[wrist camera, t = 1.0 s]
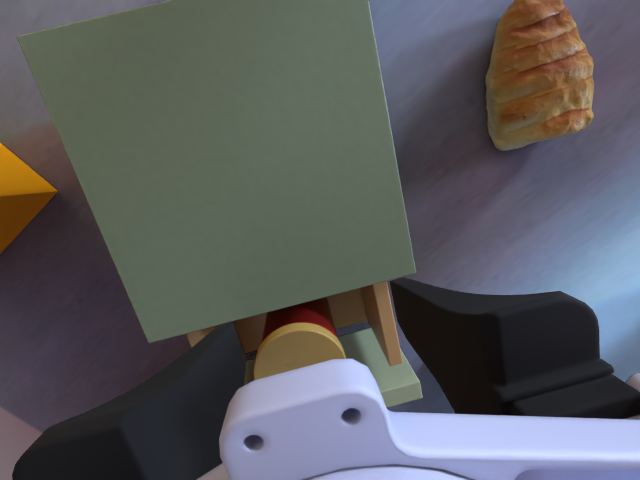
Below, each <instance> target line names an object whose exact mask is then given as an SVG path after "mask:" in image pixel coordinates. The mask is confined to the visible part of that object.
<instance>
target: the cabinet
mask: <svg viewBox="0 0 640 480" xmlns="http://www.w3.org/2000/svg"><path fill="white" fill-rule="evenodd" d="M17 39H18V41H19V43H20V46H21V48H22V50H23V53H24V55H25V57H26V60H27V62H28V64H29V67H30V69H31V71H32V74H33V76H34V78H35V81H36V83H37V85H38V88H39V90H40V92H41V95H42V97H43V99H44V102H45V104H46V106H47V109H48V111H49V113H50V115H51V118H52V120H53V122H54V125H55V127H56V129H57V132H58V134H59V136H60V139H61V141H62V143H63V146H64V148H65V150H66V153H67V155H68V157H69V160H70V162H71V164H72V167H73V169H74V171H75V174H76V176H77V178H78V181H79V183H80V185H81V188H82V190H83V192H84V195H85V197H86V199H87V202H88V204H89V206H90V209H91V211H92V213H93V216H94V218H95V220H96V223H97V225H98V227H99V229H100V232H101V234H102V236H103V239H104V241H105V243H106V246H107V248H108V250H109V253H110V255H111V257H112V260H113V262H114V264H115V267H116V269H117V271H118V274H119V276H120V278H121V281H122V283H123V285H124V288H125V290H126V292H127V295H128V297H129V299H130V302H131V304H132V306H133V309H134V311H135V313H136V316H137V318H138V320H139V323H140V325H141V327H142V330H143V332H144V334H145V337H146V339H147V341H148V343H153V342H156V341H160V340H164V339H168V338H172V337H175V336H179V335H183V334H187V333H191V332H194V331H198V330H202V329H206V328H210V327H213V326H217V325H221V324H225V323H229V322H232V321H236V320H240V319H244V318H248V317H251V316H255V315H259V314H263V313H267V312H270V311H274V310H278V309H282V308H286V307H290V306H293V305H297V304H301V303H305V302H309V301H312V300H316V299H320V298H324V297H328V296H331V295H335V294H339V293H343V292H347V291H350V290H354V289H358V288H362V287H366V286H369V285H373V284H377V283H381V282H385V281H388V280H392V279H396V278H400V277H404V276H407V275H411V274H415V273H416V269H415V263H414V257H413V252H412V246H411V240H410V235H409V229H408V223H407V218H406V212H405V206H404V200H403V195H402V189H401V183H400V178H399V172H398V166H397V161H396V155H395V149H394V144H393V138H392V132H391V126H390V121H389V115H388V109H387V104H386V98H385V92H384V87H383V81H382V75H381V69H380V64H379V58H378V52H377V47H376V41H375V35H374V30H373V24H372V18H371V12H370V7H369V1H368V0H171V1H166V2H162V3H158V4H153V5H149V6H145V7H141V8H136V9H132V10H128V11H123V12H119V13H115V14H110V15H106V16H102V17H98V18H93V19H89V20H85V21H80V22H76V23H72V24H67V25H63V26H59V27H55V28H50V29H46V30H42V31H37V32H33V33H29V34H25V35H20V36H17Z"/></svg>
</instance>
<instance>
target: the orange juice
mask: <svg viewBox="0 0 640 480" xmlns="http://www.w3.org/2000/svg"><path fill="white" fill-rule="evenodd" d="M57 192H58V190H56V189H55V188H54V187H53V186H52V185H50V184H49V183H48V182H47V181H46V180H44V179H43V178H42V177H41V176H40V175H38V174H37V173H36V172H35V171H34V170H32V169H31V168H30V167H29V166H28V165H26V164H25V163H24V162H23V161H22V160H21V159H19V158H18V157H17V156H16V155H15V154H13V153H12V152H11V151H10V150H9V149H7V148H6V147H5V146H4V145H3V144H1V143H0V254H1V253H2V252H3V251H4V250H5V248H6V247H7V246H8V245H9V244H10V243H11V242H12V241H13V240H14V239H15V238H16V237H17V235H18V234H19V233H20V232H21V231H22V230H23V229H24V228H25V227H26V226H27V225H28V224H29V222H30V221H31V220H32V219H33V218H34V217H35V216H36V215H37V214H38V213H39V212H40V210H41V209H42V208H43V207H44V206H45V205H46V204H47V203H48V202H49V201H50V200H51V199H52V197H53V196H54V195H55V194H56V193H57Z"/></svg>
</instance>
